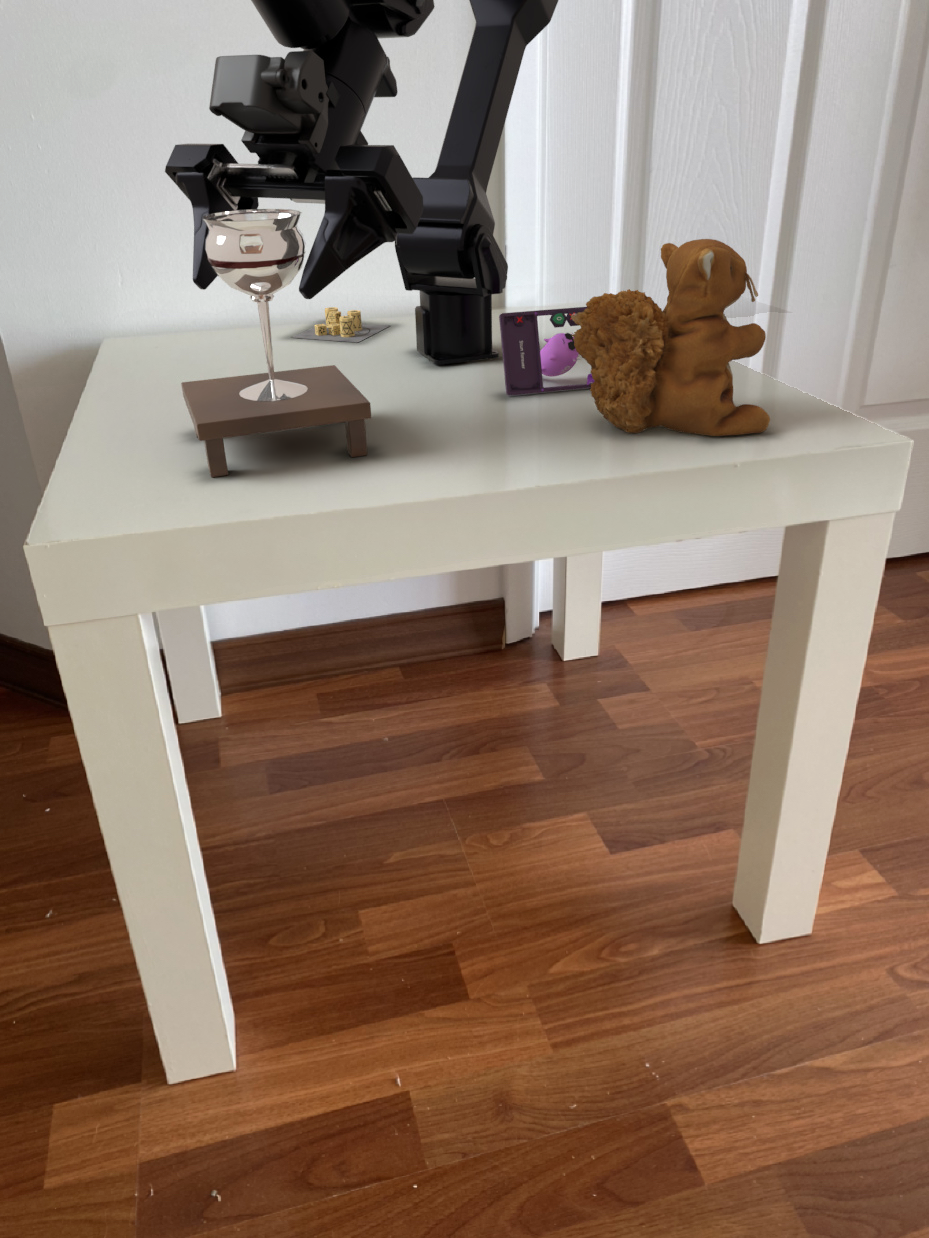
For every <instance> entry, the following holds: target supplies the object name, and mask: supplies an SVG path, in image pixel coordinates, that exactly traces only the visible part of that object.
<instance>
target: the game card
mask: <svg viewBox="0 0 929 1238" xmlns="http://www.w3.org/2000/svg"><path fill="white" fill-rule="evenodd" d="M585 309H587V306H579V307H578V306H577V307H576V306H575V307H565V308H564V307H563V308H553V309H551V308H550V309H539V310H527V311H515V312H502V313H500V314H499V316H498V320H499V332H500V342H501V352H502V362H503V372H504V373H503V375H504V384H505V393H506V395H507V396H520V395H531V394H539V393H540V394H541V393H551V392H560V391H570V390H572V391H573V390H581V389H591V384H592V383H593V382H594V379H593V378H592V374H591V373H588V374H587V375H586V376H587V377H586V383H578V384H567V385H558V386H556V385H555V386H547V387H545V386H544V382H543V381H544V380H543V376H546V377H551V378H553V377H558V376H559V377H560V376H562V375H564V374H566V373H568V372H569V371H571V370H572V369H573V368H574V366H575V365H576V364H577V362H578V360H581V357H579V356H580V355H579V353H578V352H577V351H576V348H575V346H574V343H575V342H574V340H573V339H574V337H573V336H572V335H573V334H574V332H571V333H569V332H559V333H556V334H554V335H553V336H552V337H549V338H544V339H543V341H544V342H545V343H546V344H545V345H544V346H543V347H542V348H541V346H540V345H541V344H540V333H539V323H538V321H539V320H538V317H541V316H550V318H549V321H550V323H551V324H552V326H553V328H564V327H565V325H566V323H567V324H568V325H569V327H580V325H577V324H576V323H575V322H574V320H572V319H571V315H574V316H575V315H576V314H577V313H580V312H581V313H582V312H584V310H585Z"/></svg>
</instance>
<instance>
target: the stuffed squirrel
mask: <svg viewBox="0 0 929 1238" xmlns="http://www.w3.org/2000/svg"><path fill="white" fill-rule="evenodd" d="M660 259H661V261H662V263H663V265H664V268H665V269H666V270H665V271H666V272H665V273H666V274H665V278H666V287H667V290H668V295H667V297H666V305H665V306H664V308H663V309H662V308H661V307H660V305H658V303H656V302H655V301H654V299H653V297H651V296H647V295H646V292H645V291H643V292H641V291H639V289H636V290H631V288H628V289H627V290H621V291H619V292H617V293H616V294H614V293H612V292H610V293H607V292H604V293H603V294H601V295H597V296H592V297H591V298H589V300H588V301H587V302H586V303H585V307H587V309H585V310H584V312H582V313H581V312H580V313H577V314H576V315H575V316H574V315H571V319H572V320H574V322H575V323H576V324H577V325H579V327H580V328H579V329H576V331H574V332H573V334H572V337H574V339H573V340H574V342H575V343H574V346H575V348H576V351H577V352H578V353H579V355H578V356H581V358H582V359H584V360H585V361H586V363H587V364H588V365H589V366H590V373H589V374H592V378H593V379H594V382H593V383H592V382H591V383H592V384H591V388H589V391H590V396H591V397H592V398H593V400H594V404H595V407H596V409H597V411H598V413H600V414H601V415H602V417H603V418H604V420H606V421H608V422H609V423H610V424H611V425H613V427H615V428H616V429H619V430H622V431H624V432H625V433H628V434H629V433H630V434H639V433H641V432H644V431H646V430H647V429H651V428H658V427H663V428H665V429H667V430H671V431H674V432H679V433H685V434H686V433H687V434H694V435H701V436H710V437H711V436H712V437H724V436H739V435H748V434H760V433H764V432H765V431H766V430H767V429H768V427H769V425H770V422H771V418H770V417H771V416H770V415H769V414H768V412H767V411H766V410H764V409H763V408H762V407H761V406H759V405H756V404H747V403H745V404H744V403H743V404H740V405H737V406H736V405H735V402H734V377H733V371H732V367H731V365H730V362H732V361H736V360H741V359H742V360H743V359H745V358H747V359H748V358H752V357H754V356H756V355H757V354H758V353H760V352H761V350H762V348H763V347H764V344H765V342H766V338H767V337H766V335H767V334H766V331H765V330H764V329H763V328H762V327H761V325H760V324H757V323H756V322H752V323H749V324H744V325H738V326H736V325H732V324H731V323H730V322H729V321H728V319H727V316H726V314H725V310H726V309H728V308H729V307H730V306H732V305H733V304H735V303H736V302H737V301H738V300H739V299H740V298H741V297H742V295H743V294H744V293H745V291H746V288H747V289H748V290H749V293H750V294H749V295H750V298H751V302H752V303H754V302H756V298H757V297H759V292H758V291H757V289H756V286H755V284H754V281H753V279H752V277H751V276H750V274H749V273H748V268H747V264H746V261H745V259H744V258H743V257H742V256H741V255H740V254H739V253H738V252H737V251H736V250H734V248H733V247H731V246H730V245H728V244H726V243H724V242H723V241H720V240H718V239H713V238H700V239H692V240H689V241H685V242H684V243H682V244H680V246H677V245H676V244H675V243H671V242H666V243H664V244H662V246H661V248H660ZM755 297H756V298H755Z"/></svg>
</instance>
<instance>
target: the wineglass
mask: <svg viewBox="0 0 929 1238" xmlns="http://www.w3.org/2000/svg"><path fill="white" fill-rule="evenodd" d="M302 213H303V212H302V211H300V210H296V209H289V208H288V209H287V208H257V209H247V210H234V211H224V212H217V213H211V214H207V215H204V216H202V219H203V220H204V221H205V223H206V225H207V227H208V229H209V232H208V235H207V237H206V240H205V251H206V254H207V256H206V257H207V259H208V262H209V263H210V265H211V267H212V269H213V270H214V272H215V274H217V275H218V276H217V277H218V278H220V279H221V280H222V281H223V282H224V283H225V284H226V285H228V286H229V287H230V288H231V289H234V290H236V291H238V292H241V293H243V294H246V295H247V296H249V299H250V300H251V301H252V302H253V303H256V306H257V311H258V312H257V313H258V317H259V323H260V330H261V336H262V342H263V349H264V353H265V359H266V365H267V373H269V380H266V381H264V382H261V383H257V384H254V385H251V386H249V387H246V388H244V389H243V390H241V391H240V393H239V394H240V396H241V397H243V398H245V399H249V400H254V401H276V400H285V399H289V398H294V397H297V396H300V395H302V394H304V393H305V392H307V389H308V388H307V387H306V386H305V385H303V384H300V383H295V382H290V381H283V380H278V379H275V377H274V372H275V366H274V354H273V341H272V329H271V328H272V327H271V318H270V304H269V303H270V302H272V301H273V299H274V297H275V294H276V293H277V292H279V291H281V290H283V289H285V288H286V287H288V286H289V285H290V284H291V283H292V282H293V280H294V279H295V278H296V276H297V275H298V274H299V272H300V271H301V270H302V268H304V264H305V260H306V259H305V258H306V252H307V251H306V247H307V244H306V240H305V237H304V236H305V235H304V234H303V232H302V231H301V229H300V228H299V226H298V225H299V223H300V220H301V217H302Z"/></svg>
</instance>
